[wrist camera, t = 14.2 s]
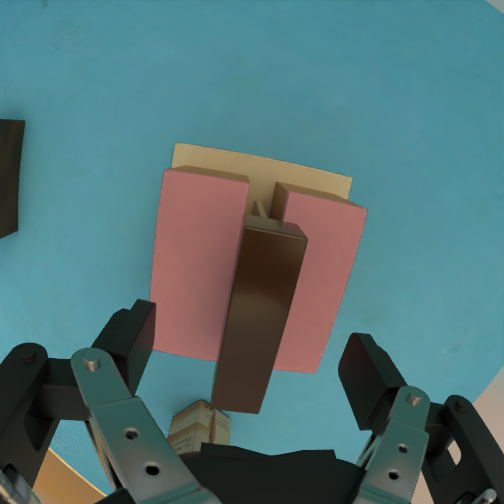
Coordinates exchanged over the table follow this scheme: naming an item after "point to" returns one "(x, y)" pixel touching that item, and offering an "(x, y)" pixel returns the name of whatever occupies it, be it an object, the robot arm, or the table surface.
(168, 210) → the pink slotted holder
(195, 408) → the cosmetic box
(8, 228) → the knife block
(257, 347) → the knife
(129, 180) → the table surface
